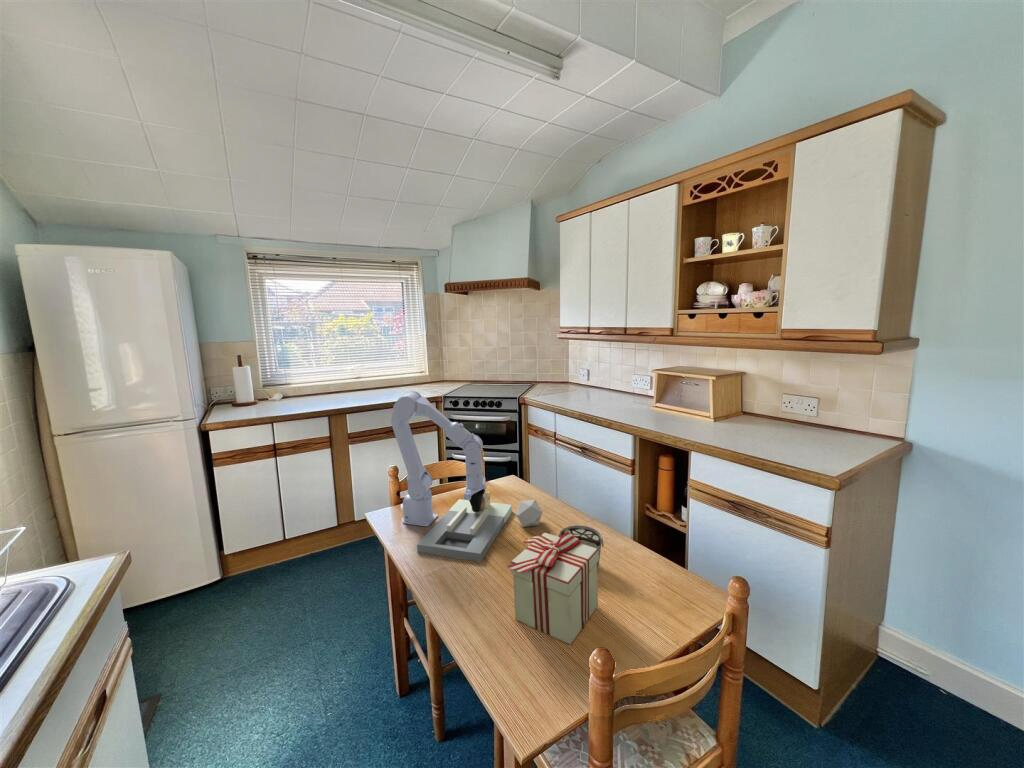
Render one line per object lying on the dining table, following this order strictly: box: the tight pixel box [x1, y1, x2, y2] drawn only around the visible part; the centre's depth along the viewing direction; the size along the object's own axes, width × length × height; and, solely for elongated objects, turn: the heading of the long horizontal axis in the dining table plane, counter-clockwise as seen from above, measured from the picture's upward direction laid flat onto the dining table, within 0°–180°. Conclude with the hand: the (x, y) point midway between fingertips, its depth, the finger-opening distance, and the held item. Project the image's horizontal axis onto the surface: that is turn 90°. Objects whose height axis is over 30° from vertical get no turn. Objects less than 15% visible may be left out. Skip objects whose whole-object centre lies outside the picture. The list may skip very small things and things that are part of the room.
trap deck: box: [416, 498, 513, 563], centre depth 136 cm, size 20×31×4 cm, turn 163°
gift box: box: [506, 532, 600, 645], centre depth 96 cm, size 17×18×17 cm
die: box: [515, 499, 543, 528], centre depth 138 cm, size 8×9×10 cm
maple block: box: [480, 490, 491, 511], centre depth 146 cm, size 5×5×5 cm
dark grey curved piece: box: [558, 524, 605, 575], centre depth 115 cm, size 12×6×10 cm, turn 65°
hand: (476, 510), depth 142 cm, fingers closed
